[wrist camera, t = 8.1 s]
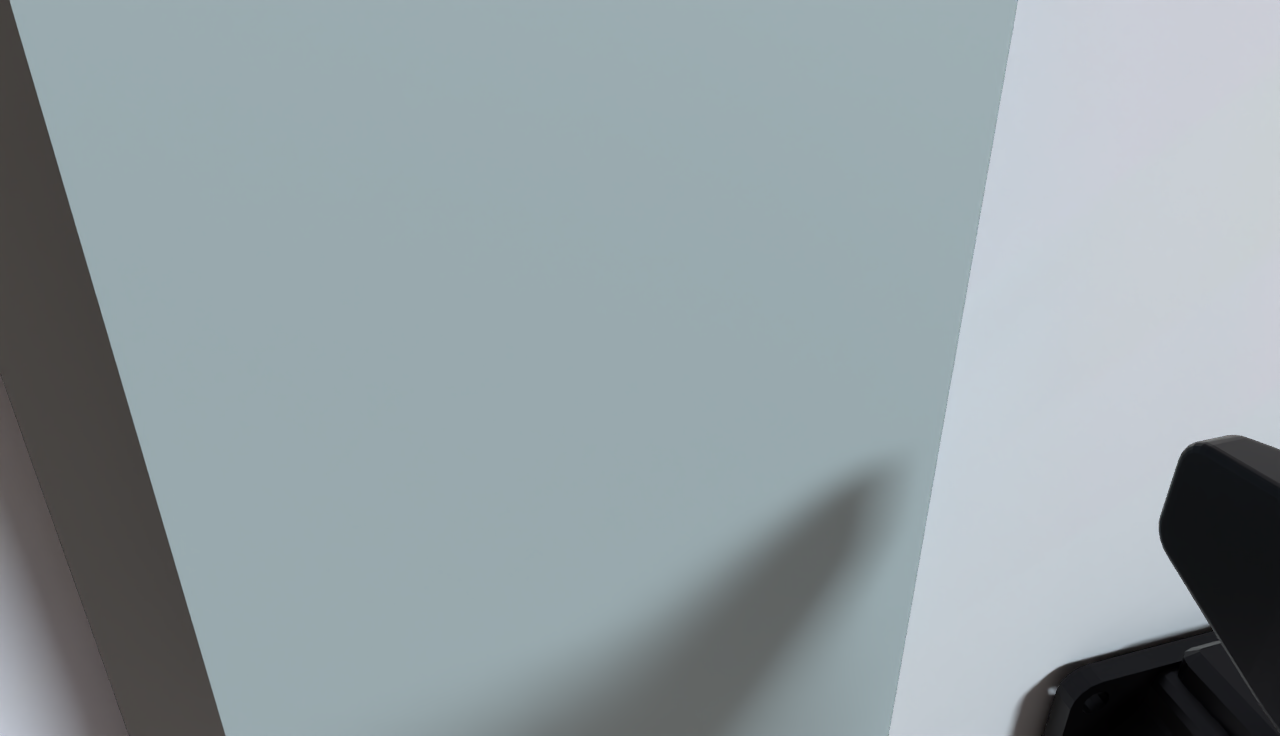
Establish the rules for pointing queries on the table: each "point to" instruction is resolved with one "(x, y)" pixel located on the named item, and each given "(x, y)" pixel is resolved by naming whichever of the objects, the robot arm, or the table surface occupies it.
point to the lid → (533, 342)
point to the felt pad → (87, 430)
